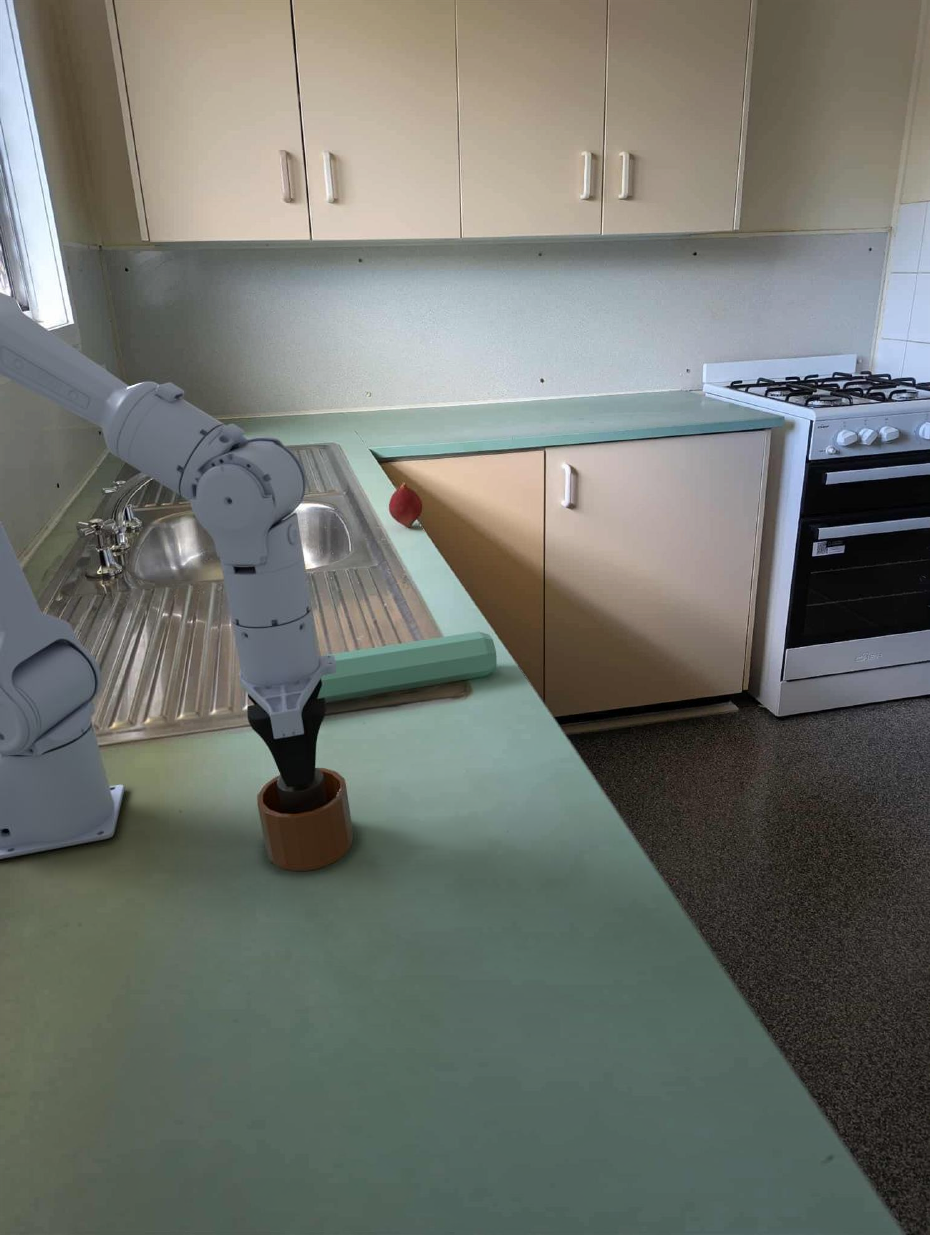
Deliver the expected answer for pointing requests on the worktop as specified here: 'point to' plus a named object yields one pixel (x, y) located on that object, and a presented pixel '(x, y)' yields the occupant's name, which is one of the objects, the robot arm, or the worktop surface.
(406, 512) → the onion
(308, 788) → the brush
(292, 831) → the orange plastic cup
